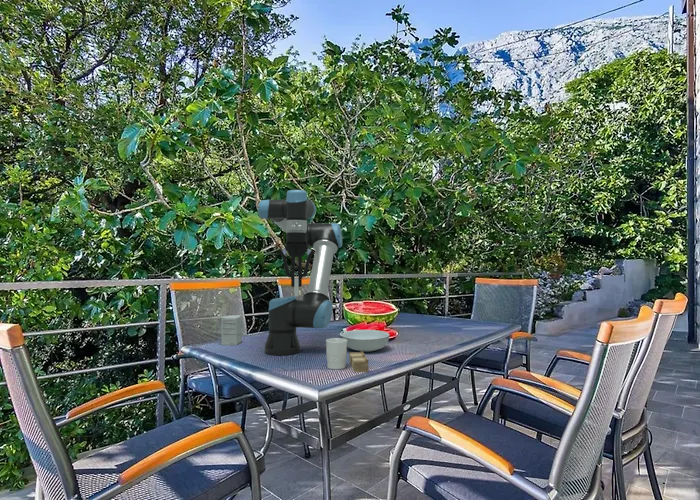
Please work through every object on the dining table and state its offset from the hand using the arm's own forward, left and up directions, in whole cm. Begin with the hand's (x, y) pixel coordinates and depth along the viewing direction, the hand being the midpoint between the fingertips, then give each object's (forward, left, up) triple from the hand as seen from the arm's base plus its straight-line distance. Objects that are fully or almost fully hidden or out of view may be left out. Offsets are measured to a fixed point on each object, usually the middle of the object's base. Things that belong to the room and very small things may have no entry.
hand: (296, 295), depth 159 cm
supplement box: (-44, -30, -27) cm, 60 cm away
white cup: (+2, +15, -27) cm, 30 cm away
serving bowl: (-26, +30, -27) cm, 48 cm away
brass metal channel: (+2, +23, -26) cm, 35 cm away
